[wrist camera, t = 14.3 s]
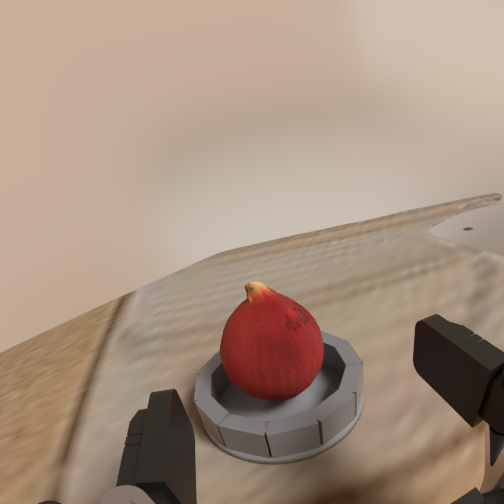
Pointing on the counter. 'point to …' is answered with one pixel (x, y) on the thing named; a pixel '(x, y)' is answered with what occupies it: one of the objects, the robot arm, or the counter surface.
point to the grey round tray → (283, 410)
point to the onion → (271, 345)
